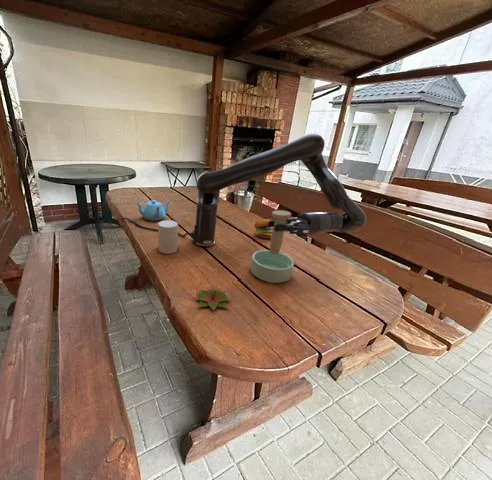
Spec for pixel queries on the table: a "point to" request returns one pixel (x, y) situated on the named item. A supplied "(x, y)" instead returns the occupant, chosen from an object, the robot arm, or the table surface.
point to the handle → (278, 236)
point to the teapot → (153, 210)
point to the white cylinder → (167, 236)
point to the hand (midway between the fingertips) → (272, 226)
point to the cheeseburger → (263, 229)
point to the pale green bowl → (271, 266)
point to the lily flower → (212, 298)
